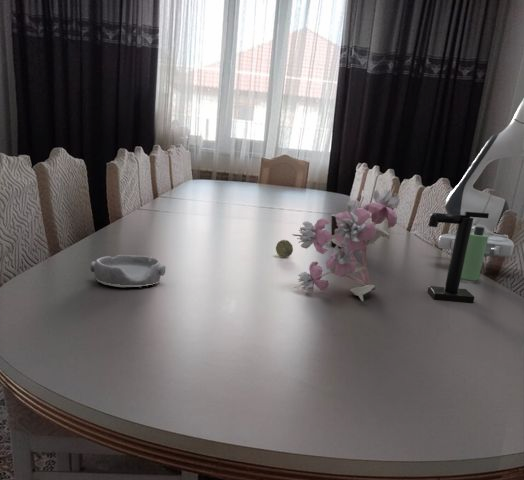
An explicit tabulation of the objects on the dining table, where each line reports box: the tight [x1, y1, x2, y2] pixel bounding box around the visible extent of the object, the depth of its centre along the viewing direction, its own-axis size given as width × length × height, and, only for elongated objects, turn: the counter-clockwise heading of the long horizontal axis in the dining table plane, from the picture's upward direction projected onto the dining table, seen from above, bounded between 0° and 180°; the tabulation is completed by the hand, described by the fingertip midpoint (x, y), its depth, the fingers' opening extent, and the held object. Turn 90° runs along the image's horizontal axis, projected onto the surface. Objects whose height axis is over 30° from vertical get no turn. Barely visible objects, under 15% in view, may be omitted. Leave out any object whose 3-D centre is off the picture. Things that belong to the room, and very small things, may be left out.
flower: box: [291, 184, 401, 302], centre depth 115 cm, size 20×22×25 cm
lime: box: [275, 239, 294, 259], centre depth 152 cm, size 4×5×5 cm
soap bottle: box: [460, 226, 488, 282], centre depth 141 cm, size 5×5×14 cm
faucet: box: [427, 211, 489, 304], centre depth 119 cm, size 12×7×20 cm, turn 85°
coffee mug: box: [330, 213, 366, 249], centre depth 174 cm, size 12×9×10 cm
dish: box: [90, 254, 167, 289], centre depth 114 cm, size 14×14×5 cm
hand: (474, 249), depth 144 cm, fingers open, 8 cm apart
